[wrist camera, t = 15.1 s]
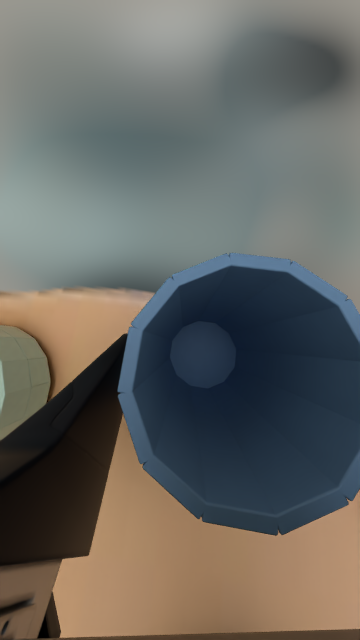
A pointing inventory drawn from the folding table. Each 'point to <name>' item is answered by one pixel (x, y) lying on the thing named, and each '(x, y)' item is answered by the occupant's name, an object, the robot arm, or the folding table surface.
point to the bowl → (20, 378)
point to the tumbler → (247, 392)
